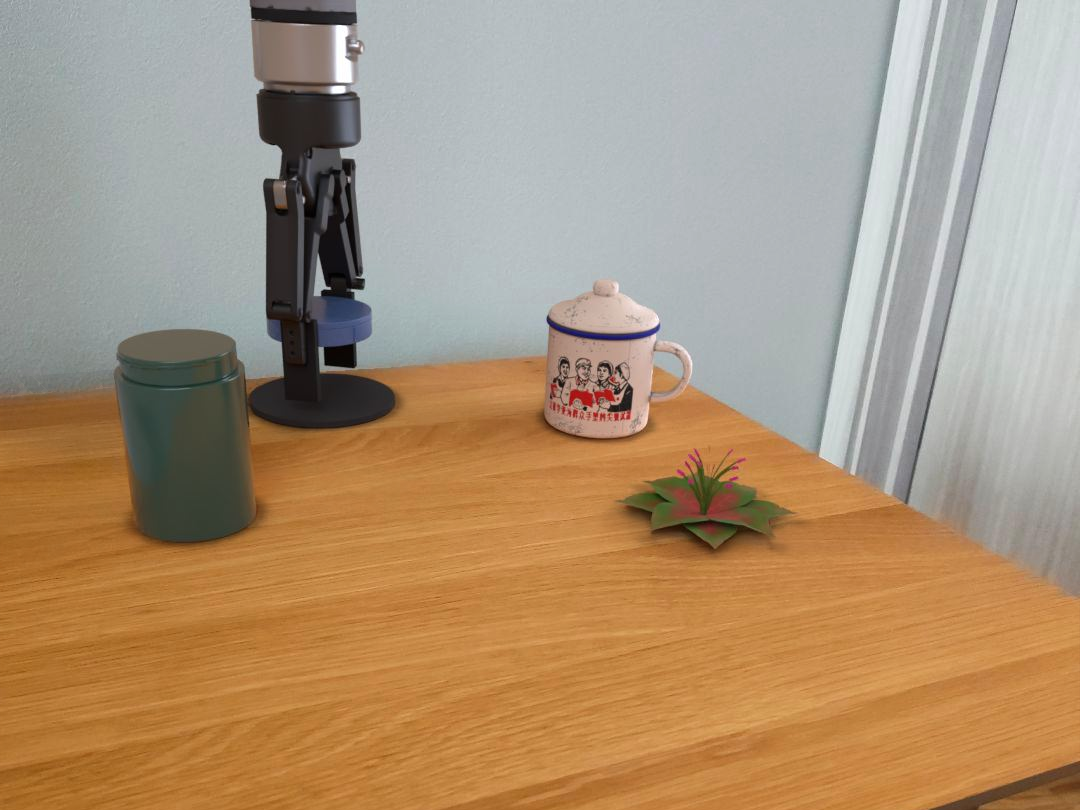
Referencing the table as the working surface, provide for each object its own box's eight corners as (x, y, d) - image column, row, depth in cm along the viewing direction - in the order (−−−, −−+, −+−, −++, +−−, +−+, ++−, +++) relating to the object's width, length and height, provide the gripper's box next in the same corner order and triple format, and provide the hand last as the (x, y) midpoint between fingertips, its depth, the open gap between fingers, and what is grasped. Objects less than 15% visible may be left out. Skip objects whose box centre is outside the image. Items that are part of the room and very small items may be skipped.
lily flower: (581, 508, 73) (585, 446, 71) (694, 467, 80) (701, 410, 78) (717, 575, 65) (726, 508, 63) (828, 523, 73) (839, 462, 71)
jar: (110, 516, 68) (84, 342, 63) (210, 482, 74) (194, 320, 69) (179, 554, 64) (157, 372, 59) (280, 516, 70) (268, 346, 64)
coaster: (219, 401, 88) (218, 394, 88) (330, 370, 97) (330, 364, 96) (314, 440, 82) (313, 432, 81) (424, 403, 90) (424, 396, 90)
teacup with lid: (529, 432, 85) (536, 288, 80) (553, 397, 93) (561, 263, 88) (678, 452, 83) (695, 305, 78) (690, 414, 91) (706, 278, 86)
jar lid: (394, 333, 87) (393, 311, 86) (314, 354, 81) (313, 330, 80) (326, 312, 92) (325, 290, 91) (245, 330, 86) (244, 307, 85)
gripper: (305, 101, 68) (322, 430, 78) (397, 82, 87) (401, 350, 97) (195, 94, 69) (226, 420, 79) (310, 76, 88) (323, 342, 98)
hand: (322, 381), depth 88 cm, fingers closed on jar lid, 8 cm apart
